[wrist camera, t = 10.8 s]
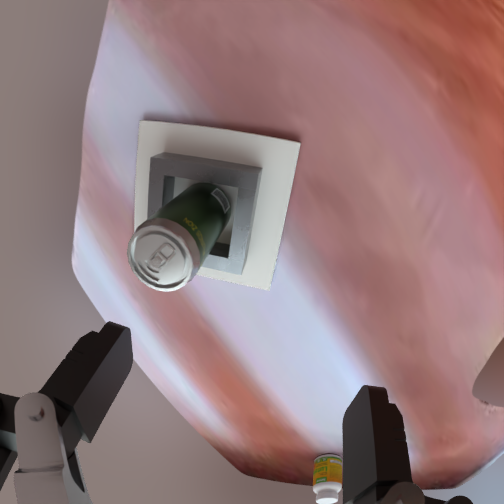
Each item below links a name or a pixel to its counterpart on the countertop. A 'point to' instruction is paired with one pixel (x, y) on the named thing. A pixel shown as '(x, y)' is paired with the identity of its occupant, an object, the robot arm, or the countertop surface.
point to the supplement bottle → (327, 478)
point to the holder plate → (231, 150)
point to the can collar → (216, 172)
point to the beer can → (179, 237)
